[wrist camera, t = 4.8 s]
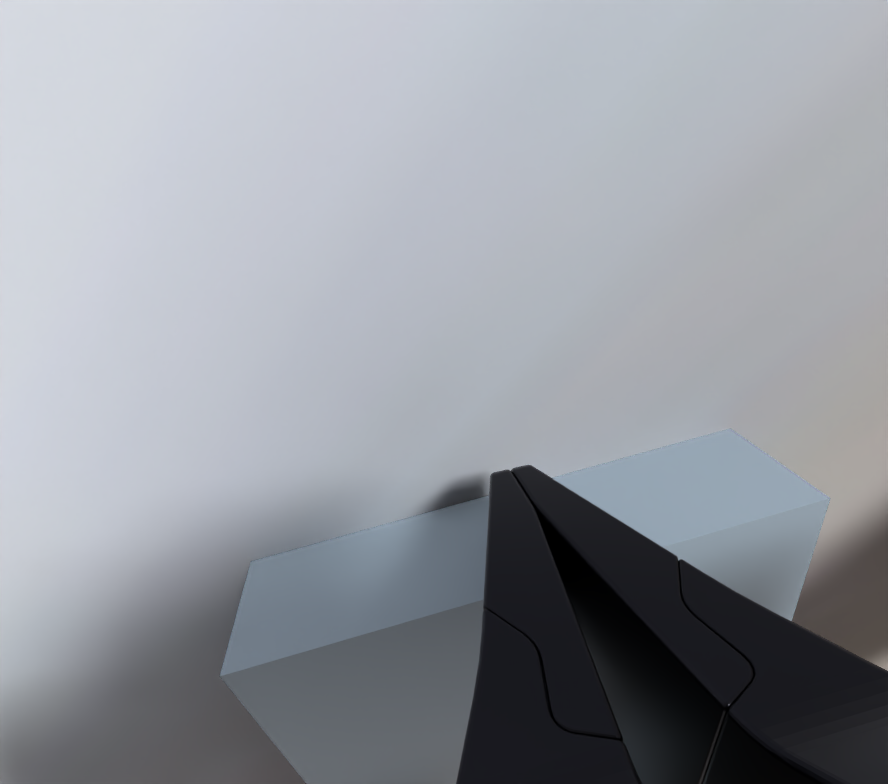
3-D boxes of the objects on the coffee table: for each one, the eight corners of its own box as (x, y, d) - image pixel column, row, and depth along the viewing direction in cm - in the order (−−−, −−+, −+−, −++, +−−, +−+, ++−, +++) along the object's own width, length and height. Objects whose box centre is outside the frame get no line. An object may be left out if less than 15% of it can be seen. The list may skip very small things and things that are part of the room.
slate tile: (719, 420, 11) (830, 498, 9) (675, 747, 20) (723, 836, 17) (254, 548, 10) (219, 676, 8) (419, 829, 19) (428, 935, 16)
